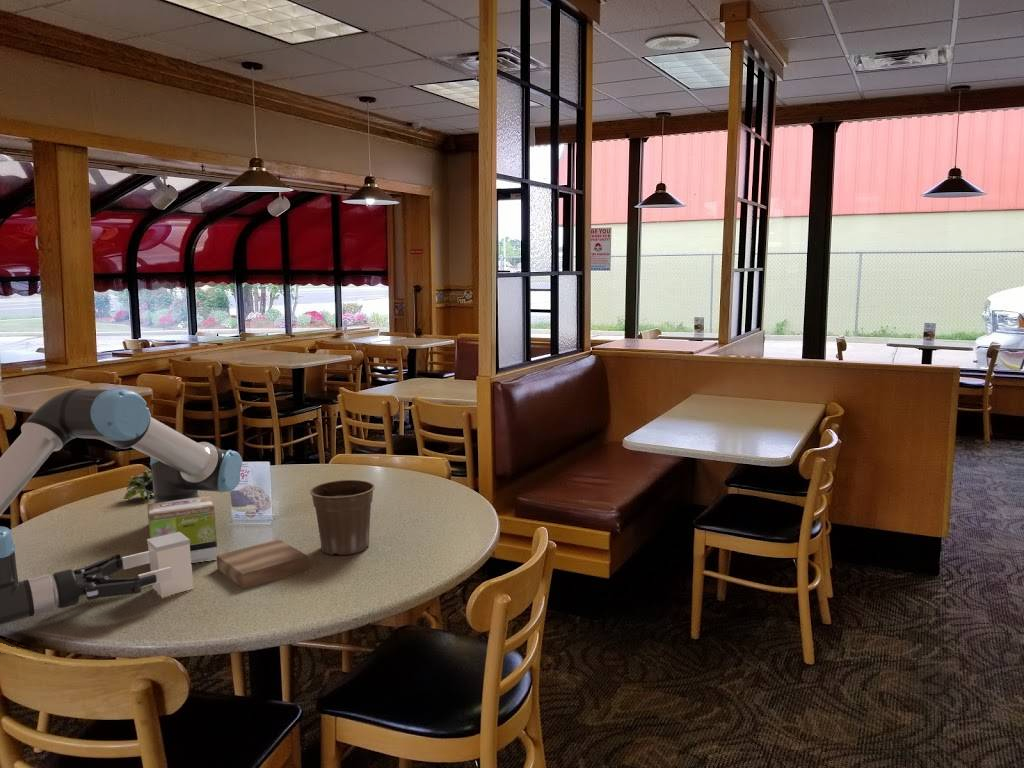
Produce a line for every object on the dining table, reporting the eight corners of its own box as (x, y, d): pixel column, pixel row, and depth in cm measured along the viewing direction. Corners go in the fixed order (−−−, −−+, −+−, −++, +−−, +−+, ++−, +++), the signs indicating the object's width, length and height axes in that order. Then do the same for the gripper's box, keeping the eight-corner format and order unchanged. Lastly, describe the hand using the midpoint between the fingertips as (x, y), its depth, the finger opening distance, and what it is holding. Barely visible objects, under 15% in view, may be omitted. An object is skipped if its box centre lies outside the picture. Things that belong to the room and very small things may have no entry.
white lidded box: (151, 589, 176) (146, 539, 174) (184, 580, 181) (179, 531, 179) (161, 598, 171) (156, 547, 169) (194, 589, 175) (189, 539, 173)
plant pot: (355, 532, 211) (352, 475, 208) (390, 546, 199) (387, 486, 197) (302, 548, 200) (298, 488, 197) (335, 564, 188) (331, 501, 186)
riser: (217, 571, 187) (216, 555, 186) (279, 554, 197) (278, 539, 197) (243, 590, 175) (242, 573, 174) (308, 571, 185) (307, 555, 185)
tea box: (153, 572, 186) (147, 514, 184) (151, 559, 195) (145, 503, 192) (219, 560, 193) (214, 503, 190) (214, 548, 201) (209, 493, 199)
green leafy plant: (152, 511, 251) (172, 479, 254) (151, 515, 241) (172, 480, 244) (119, 496, 247) (139, 463, 250) (117, 499, 237) (138, 464, 240)
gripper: (45, 590, 170) (147, 564, 183) (68, 629, 151) (180, 597, 164) (41, 558, 168) (144, 534, 182) (64, 593, 150) (177, 563, 163)
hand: (161, 564), depth 173 cm, fingers open, 13 cm apart
